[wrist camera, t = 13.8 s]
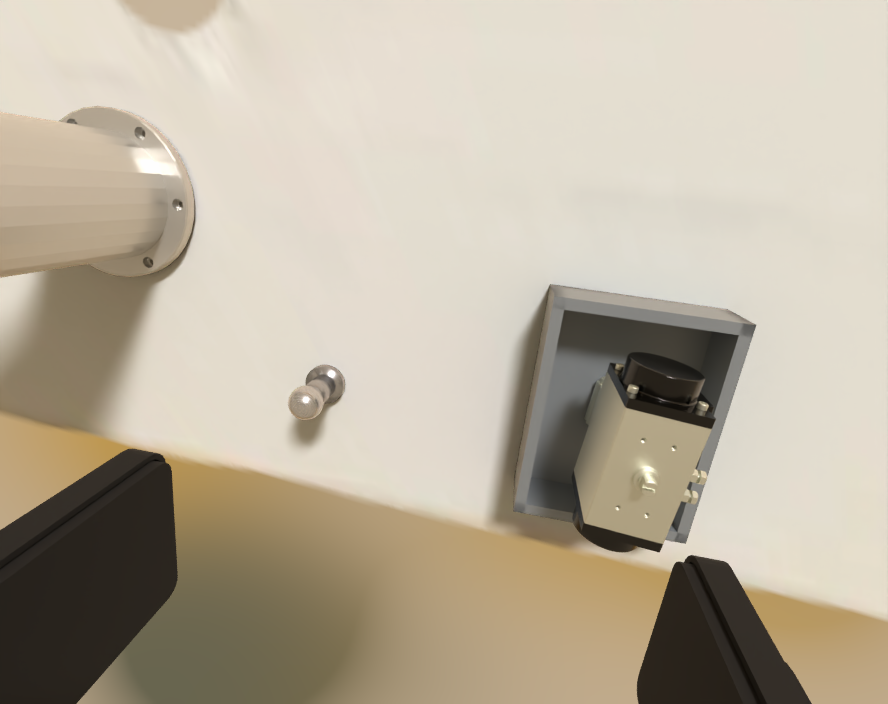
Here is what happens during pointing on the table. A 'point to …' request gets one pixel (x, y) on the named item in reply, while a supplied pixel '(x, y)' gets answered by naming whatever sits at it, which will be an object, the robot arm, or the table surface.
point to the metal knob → (316, 392)
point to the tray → (587, 360)
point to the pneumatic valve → (640, 452)
